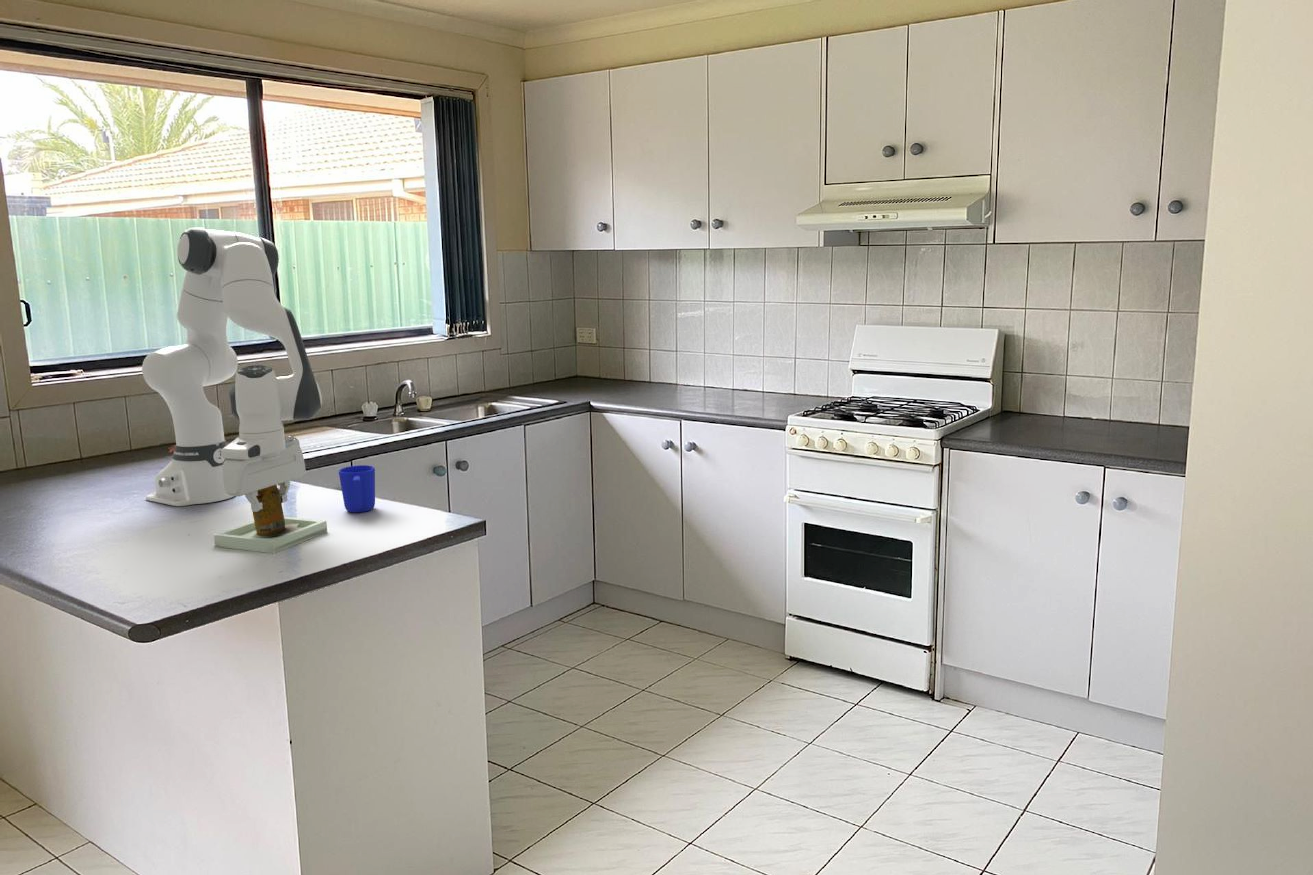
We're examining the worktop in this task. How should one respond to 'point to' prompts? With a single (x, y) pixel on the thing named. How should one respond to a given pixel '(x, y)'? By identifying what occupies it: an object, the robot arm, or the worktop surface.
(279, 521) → the condiment
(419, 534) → the worktop surface
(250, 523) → the tray
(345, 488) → the mug
